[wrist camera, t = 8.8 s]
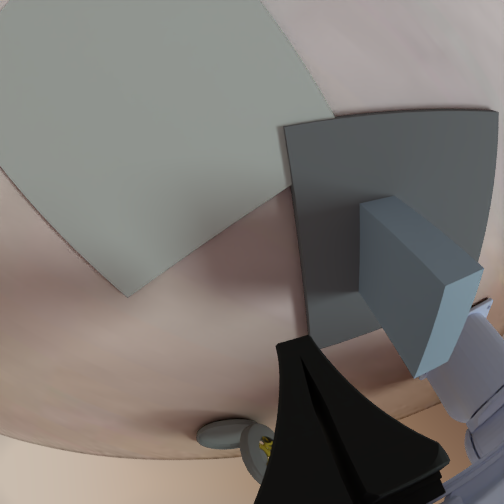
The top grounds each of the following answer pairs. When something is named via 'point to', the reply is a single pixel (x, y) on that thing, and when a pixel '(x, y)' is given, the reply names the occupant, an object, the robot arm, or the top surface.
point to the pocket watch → (241, 442)
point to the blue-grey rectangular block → (414, 282)
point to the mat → (382, 196)
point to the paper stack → (147, 122)
